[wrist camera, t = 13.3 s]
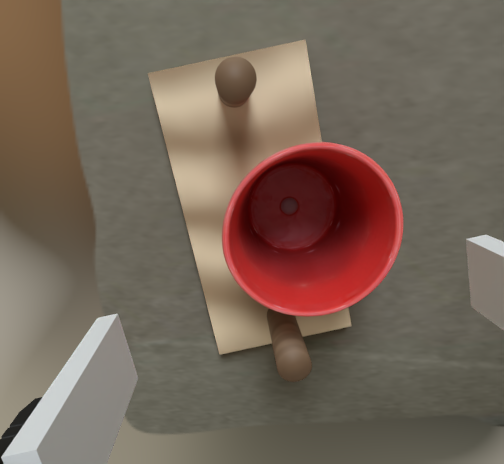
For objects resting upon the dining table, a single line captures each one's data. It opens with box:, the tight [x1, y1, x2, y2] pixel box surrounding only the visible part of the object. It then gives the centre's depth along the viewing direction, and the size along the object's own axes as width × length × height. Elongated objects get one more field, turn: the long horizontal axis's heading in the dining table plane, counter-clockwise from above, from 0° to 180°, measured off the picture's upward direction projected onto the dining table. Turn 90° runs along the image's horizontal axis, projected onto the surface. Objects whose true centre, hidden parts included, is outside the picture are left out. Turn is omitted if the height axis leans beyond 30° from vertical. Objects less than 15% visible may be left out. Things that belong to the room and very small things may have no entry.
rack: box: [148, 40, 351, 382], centre depth 31 cm, size 24×12×10 cm, turn 12°
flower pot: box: [222, 142, 403, 317], centre depth 29 cm, size 11×11×10 cm
